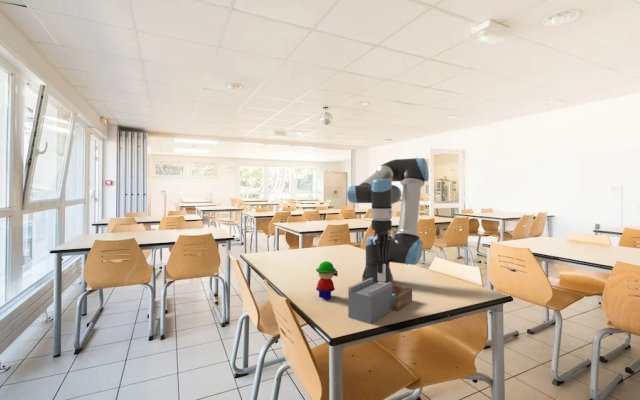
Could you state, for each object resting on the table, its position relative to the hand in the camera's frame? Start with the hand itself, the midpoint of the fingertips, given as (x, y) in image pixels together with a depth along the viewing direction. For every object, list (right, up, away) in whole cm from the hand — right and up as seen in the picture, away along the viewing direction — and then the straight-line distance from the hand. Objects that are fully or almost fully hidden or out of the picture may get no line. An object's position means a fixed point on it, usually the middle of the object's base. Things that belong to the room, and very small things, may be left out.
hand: (381, 280), depth 116 cm
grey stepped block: (-5, -10, -6) cm, 13 cm away
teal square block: (+3, -7, +4) cm, 8 cm away
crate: (+4, -10, +5) cm, 12 cm away
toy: (-21, -10, +12) cm, 26 cm away
